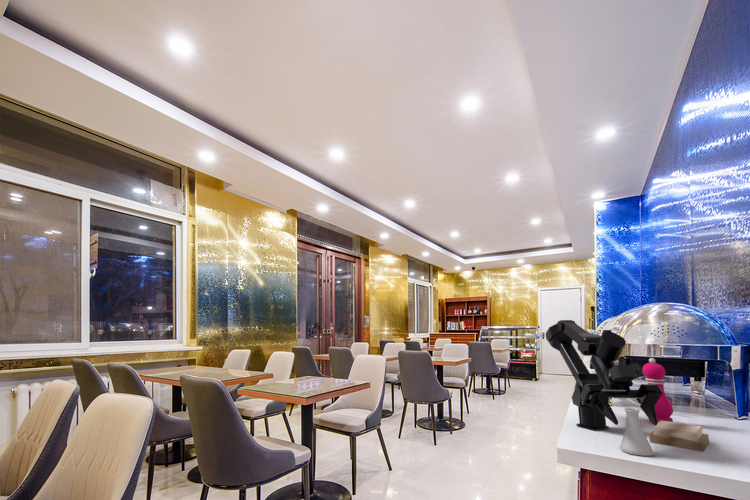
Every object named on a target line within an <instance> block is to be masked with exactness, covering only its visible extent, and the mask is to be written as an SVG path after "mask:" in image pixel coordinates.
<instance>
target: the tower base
mask: <svg viewBox="0 0 750 500" xmlns="http://www.w3.org/2000/svg"><path fill="white" fill-rule="evenodd" d="M652 428H653V430H652V431H651V432H650V433H649V434H648V437H649V443H650V444H651V443H652V444H658V445H662V446H663V445H664V446H669V447H674V448H679V449H686V450H691V451H697V452H702V453H704V452H705V450H706V449H707V448H708V445H709V444H710V438H709V434H708V433H703V426H701V425H693V424H689V423H687V424H686V423H683V422H682V423H680V422H674V421H673V422H668V421H661V420H660V421H659V422H658V423H657V425H654V424H653V427H652Z"/></svg>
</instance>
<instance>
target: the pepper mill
mask: <svg viewBox="0 0 750 500" xmlns="http://www.w3.org/2000/svg"><path fill="white" fill-rule="evenodd" d="M642 373H643V374H642V375H644V376H645V377H646V378H645V383H646V384H655V385H658V386H659V387H660V389H661V390H662V392H663V393H662V395H661V397H660V398H659V400H658V402H657V404H656V405H655V411H656V417H657V422H659V421H660V420H661V421H668V422H674V420H673V418H672V417H671V416H672V415H673V413H674V408H673V405H672V403H671V401H670V400H669V399H668V397H667V395H666V392H665V389H664V386H665V383H666V382H665V379H664V377H665V376H666V369H665V368H664V366H663V365H661V364H659V363H657V362H656V359H655V358H653V357H650V358H649V359H648V363H647V362H646V363H645V364H644V365H643V366H642ZM648 422H649V423H650V424H653V423H652V422H651V421H650V420H649V419H648Z"/></svg>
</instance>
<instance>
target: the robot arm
mask: <svg viewBox="0 0 750 500" xmlns="http://www.w3.org/2000/svg"><path fill="white" fill-rule="evenodd" d="M545 338H546V341H547V342H548V344H549V345H550V346H551V348H553V349H555V350H557V351H558V352H559V353H560V355H561V356H562V358H563V360H564V362H565V364H566V365H567V368H568V369H569V371H570V373H571V375H572V377H573V378H574V381H575V386H574V389H573V392H572V395H571V400H572V404H573V405H575V406H577V409H578V419H579V421H578V422H579V423H576V424H575V425H576V426H577V427H579V428H580V427H581V428H585V429H588V430H591V431H602V430H607V429H609V428H610V427H609V425H607V420H606V418H607V419H608V420H609V421H610V422H611V423H612V424H614V425H616V426H618V424H619V420H618V418H617V415H616V414H615V412H614V410H613V409H612V406H611V405H610V403H609V399H610V398H614V399H636V401H637V403H638V404H640V406H639V407H640V409H641V410H642V412H643V413H644V414H645V415H646V417H647V418H648V421H649V420H650V421H651V422H652V423H651V424H652V425H653V426H654V425H657V423H658V422H657V417H656V411H655V405H656V404H657V402H658V400H659V398H660V397H661V395H662V393H663V392H662V390H661V389H660V387H659V386H658V385H655V384H648V383H646V384H645V383H641V384H640V385H639V387H638V389H631V388H630V387H633V385H634V382H633V381H634V380H635V379H638V378H640V377H642V376H643V375H644V374H643V369H642V368H641V366H639V364H638V363H629V364H616V361H618V360H619V359H620V358H621V355H622V353H623V351H624V348H625V346H626V343H627V342H626V339H625V338H624V337H622V336H621V335H619V334H618V333H615V332H613V331H612V330H611V329H603V330H602V333H601V335H599V334H596V333H595V334H594V333H590V332H588V331H587V330H585V329H584V328H582V326H580V325H578V323H576V322H575V320H572V319H561V320H558V321H557V323H555V324H553V325H551V326H550V327H548V329H547V330H546V332H545ZM573 342H575V343H576V344H577V350H578V351H579V352H580V354H581V355H582V356H587V357H588V356H589V357H590V360H589V369H590V370H594V371H595V372H594V373H590V370H589V369H588V368H587V366H586V365H585V363H584V361H583V359H582V358H581V356H580V354H579V353H578V351H577V350H576V348H575V347H574V345H573Z"/></svg>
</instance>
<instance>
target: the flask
mask: <svg viewBox="0 0 750 500" xmlns="http://www.w3.org/2000/svg"><path fill="white" fill-rule="evenodd" d="M624 411H625V413H626V421H625V422H626V423H625V428H624V432H623V436H622V440H621V443H620V450H621V451H622V452H624V453H627V454H630V455H637V456H642V457H644V456H645V457H646V456H648V457H649V456H650V457H651V456H655V455H656V454H655V452H654V450H653V448H652V446H651V442H650V440H648V437H647V435H646V434H645V432H644V429H643V426H642V423H641V422H640V416H639V414H640V409H638V408H633V407H625V408H624Z"/></svg>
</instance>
